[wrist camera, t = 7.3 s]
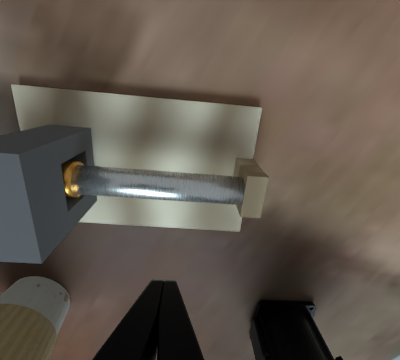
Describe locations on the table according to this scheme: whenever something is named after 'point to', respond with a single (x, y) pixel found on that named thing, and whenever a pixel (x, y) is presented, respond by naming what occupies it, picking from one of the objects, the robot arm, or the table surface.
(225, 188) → the rod
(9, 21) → the table surface
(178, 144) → the stand
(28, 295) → the coffee cup
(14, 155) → the collar
